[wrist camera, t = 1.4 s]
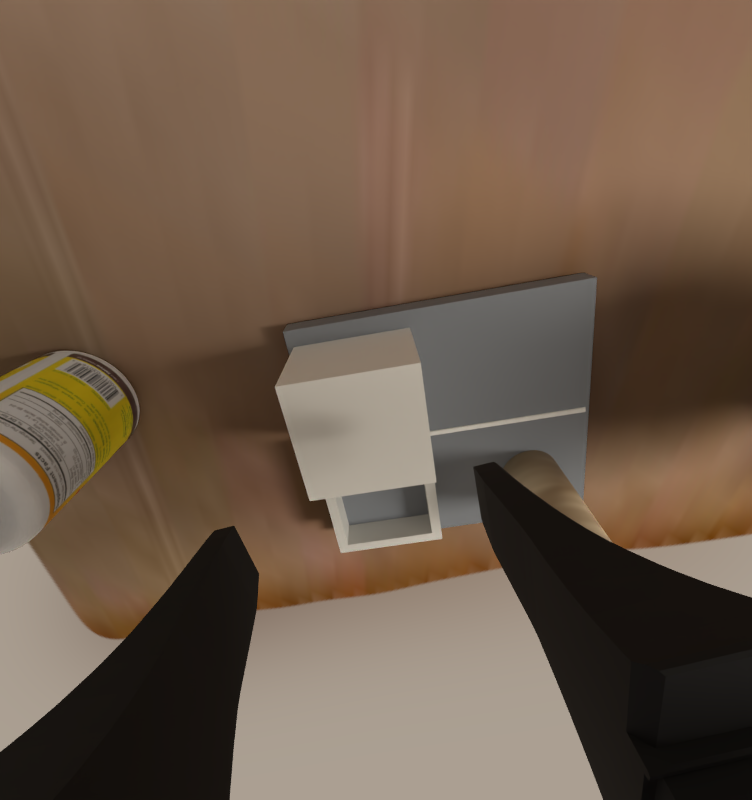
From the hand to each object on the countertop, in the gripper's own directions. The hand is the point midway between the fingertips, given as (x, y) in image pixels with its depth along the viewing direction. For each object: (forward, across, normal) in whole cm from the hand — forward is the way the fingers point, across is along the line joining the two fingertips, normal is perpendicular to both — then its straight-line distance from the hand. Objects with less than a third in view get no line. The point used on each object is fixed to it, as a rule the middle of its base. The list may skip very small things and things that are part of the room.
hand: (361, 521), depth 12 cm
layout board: (+10, -4, +3) cm, 11 cm away
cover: (+9, -1, 0) cm, 9 cm away
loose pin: (+8, -8, +7) cm, 14 cm away
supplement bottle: (+11, +13, -2) cm, 18 cm away
